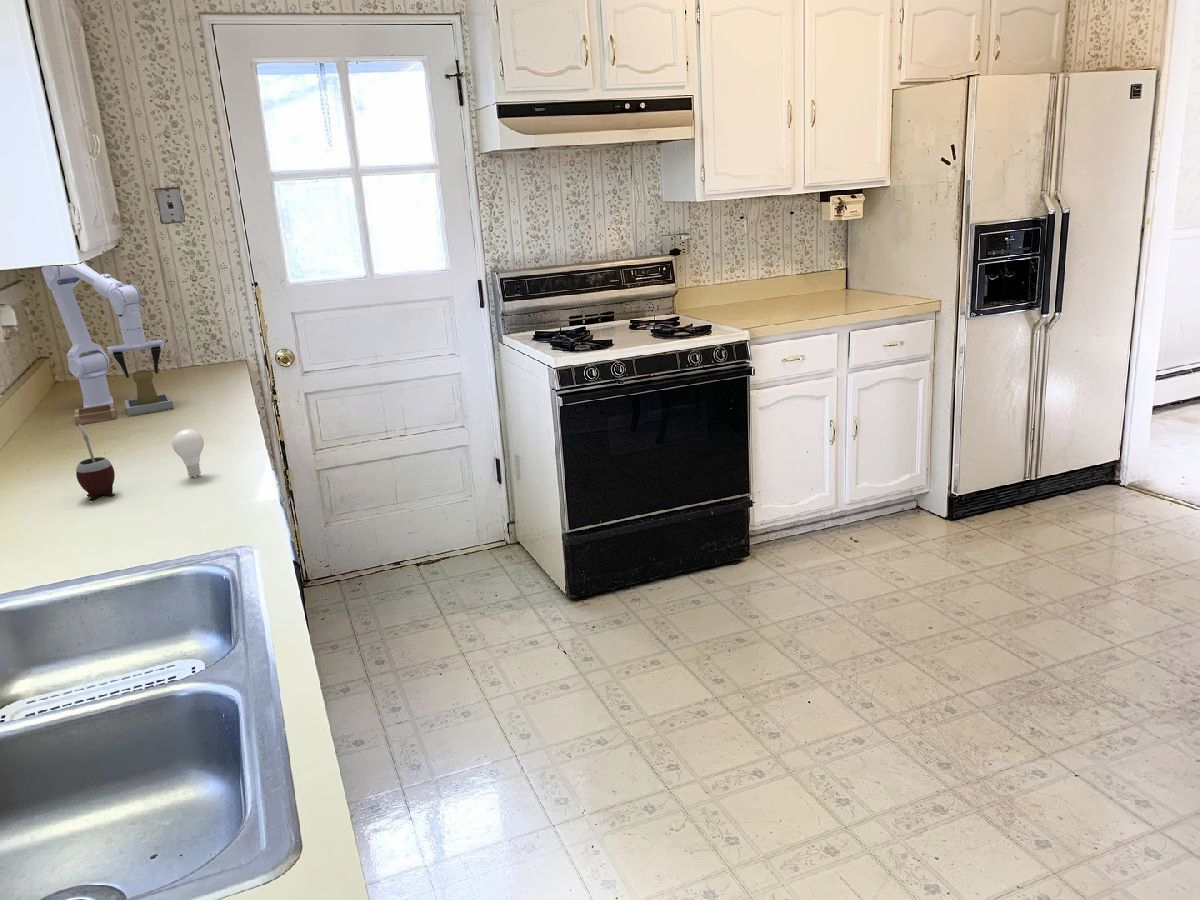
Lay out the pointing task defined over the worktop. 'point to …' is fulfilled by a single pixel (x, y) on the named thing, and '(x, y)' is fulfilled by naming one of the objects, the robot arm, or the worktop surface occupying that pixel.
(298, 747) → the worktop surface
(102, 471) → the mate gourd
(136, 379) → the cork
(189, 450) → the lightbulb
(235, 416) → the worktop surface
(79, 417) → the wooden square frame
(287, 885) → the worktop surface
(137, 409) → the tray
